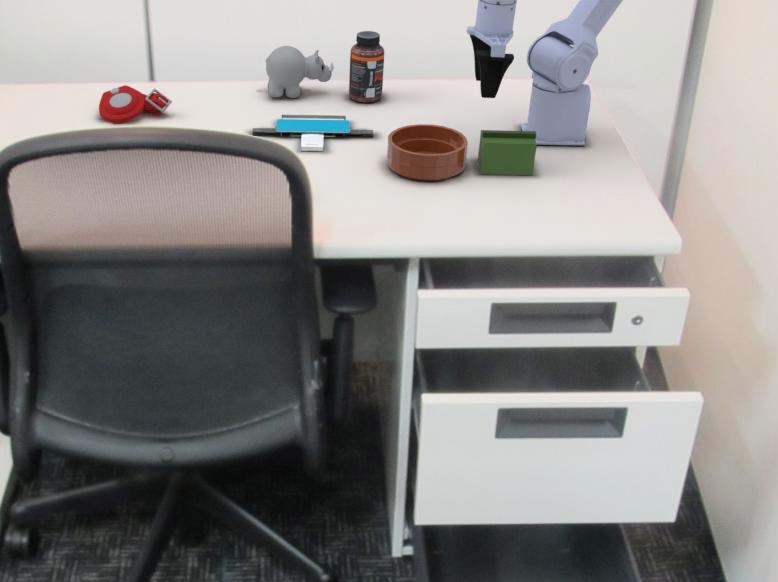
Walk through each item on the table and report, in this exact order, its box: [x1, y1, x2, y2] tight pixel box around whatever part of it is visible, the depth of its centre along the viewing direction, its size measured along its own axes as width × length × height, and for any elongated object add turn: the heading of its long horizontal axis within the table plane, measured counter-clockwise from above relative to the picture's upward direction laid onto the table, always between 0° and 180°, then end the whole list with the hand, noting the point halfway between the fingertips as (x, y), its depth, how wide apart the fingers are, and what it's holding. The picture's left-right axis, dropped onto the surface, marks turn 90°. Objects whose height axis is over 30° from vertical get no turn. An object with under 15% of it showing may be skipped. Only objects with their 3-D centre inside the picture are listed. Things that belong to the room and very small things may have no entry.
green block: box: [477, 129, 538, 176], centre depth 173 cm, size 8×5×6 cm, turn 88°
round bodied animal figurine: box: [265, 45, 334, 99], centre depth 198 cm, size 7×12×8 cm, turn 92°
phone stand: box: [251, 114, 374, 152], centre depth 184 cm, size 20×12×2 cm, turn 89°
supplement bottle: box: [348, 30, 385, 103], centre depth 196 cm, size 6×6×11 cm
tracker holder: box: [98, 84, 173, 124], centre depth 192 cm, size 12×4×10 cm
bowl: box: [386, 123, 468, 182], centre depth 174 cm, size 12×12×4 cm
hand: (485, 88), depth 175 cm, fingers open, 7 cm apart
